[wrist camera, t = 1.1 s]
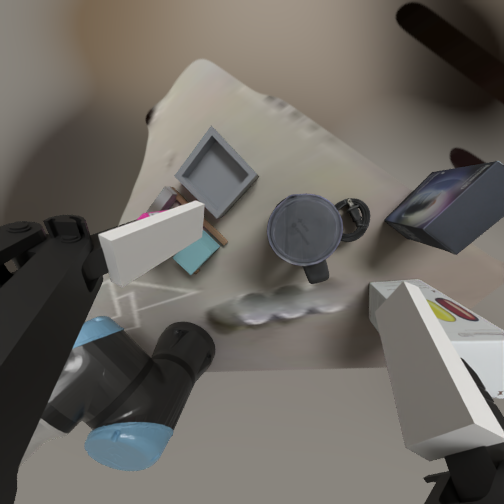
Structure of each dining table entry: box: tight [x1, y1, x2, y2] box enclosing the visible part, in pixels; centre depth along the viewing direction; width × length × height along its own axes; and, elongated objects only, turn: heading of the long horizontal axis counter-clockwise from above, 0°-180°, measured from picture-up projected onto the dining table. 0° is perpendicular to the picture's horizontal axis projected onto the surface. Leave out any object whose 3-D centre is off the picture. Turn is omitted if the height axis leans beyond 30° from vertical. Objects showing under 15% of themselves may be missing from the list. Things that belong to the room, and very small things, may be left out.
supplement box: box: [369, 279, 504, 398], centre depth 31 cm, size 10×9×17 cm
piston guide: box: [146, 187, 228, 274], centre depth 40 cm, size 11×16×3 cm
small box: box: [385, 161, 504, 255], centre depth 28 cm, size 11×6×10 cm, turn 144°
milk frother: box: [267, 194, 370, 284], centre depth 29 cm, size 14×16×15 cm
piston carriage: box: [173, 230, 220, 275], centre depth 39 cm, size 7×5×5 cm
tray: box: [175, 126, 259, 219], centre depth 35 cm, size 11×11×4 cm
